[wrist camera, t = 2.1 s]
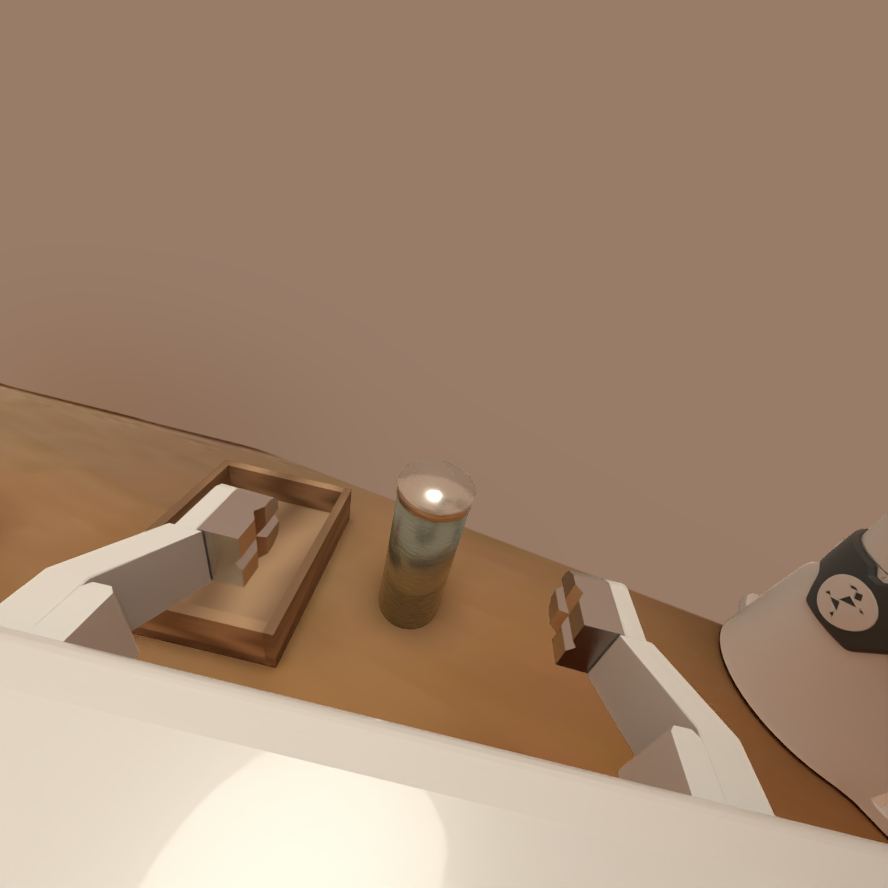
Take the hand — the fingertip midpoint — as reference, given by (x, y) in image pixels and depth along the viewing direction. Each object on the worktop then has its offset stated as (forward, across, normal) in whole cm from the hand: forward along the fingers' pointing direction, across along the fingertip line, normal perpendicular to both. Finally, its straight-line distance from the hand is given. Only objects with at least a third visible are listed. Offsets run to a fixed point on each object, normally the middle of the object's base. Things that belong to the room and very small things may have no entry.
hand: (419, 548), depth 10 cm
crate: (+12, +14, +20) cm, 27 cm away
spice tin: (+12, 0, +20) cm, 24 cm away
